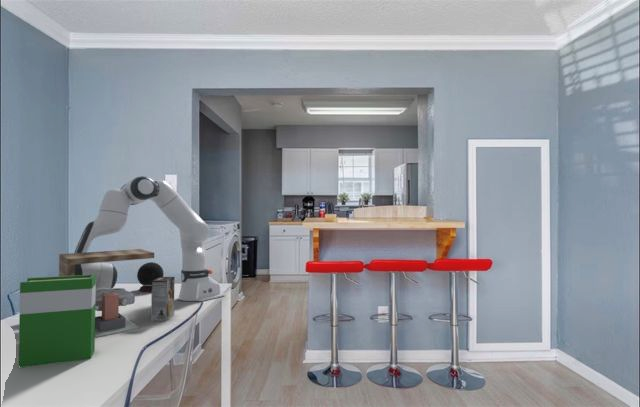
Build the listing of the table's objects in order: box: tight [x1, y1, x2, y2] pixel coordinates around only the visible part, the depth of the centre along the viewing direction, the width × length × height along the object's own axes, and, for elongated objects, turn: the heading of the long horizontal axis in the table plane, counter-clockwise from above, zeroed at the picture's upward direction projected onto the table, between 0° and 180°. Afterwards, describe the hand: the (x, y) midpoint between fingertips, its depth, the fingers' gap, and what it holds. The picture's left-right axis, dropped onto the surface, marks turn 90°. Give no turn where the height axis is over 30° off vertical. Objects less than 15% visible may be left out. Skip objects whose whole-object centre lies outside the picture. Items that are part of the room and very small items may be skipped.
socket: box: [95, 312, 140, 339], centre depth 143 cm, size 16×16×4 cm
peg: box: [101, 293, 120, 321], centre depth 143 cm, size 4×4×12 cm
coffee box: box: [150, 276, 175, 322], centre depth 157 cm, size 9×6×16 cm
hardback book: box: [18, 275, 96, 368], centre depth 115 cm, size 18×7×24 cm, turn 113°
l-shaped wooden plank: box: [58, 248, 155, 276], centre depth 142 cm, size 28×16×28 cm, turn 133°
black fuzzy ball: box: [136, 261, 164, 293], centre depth 208 cm, size 13×13×15 cm
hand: (110, 305), depth 142 cm, fingers open, 8 cm apart
